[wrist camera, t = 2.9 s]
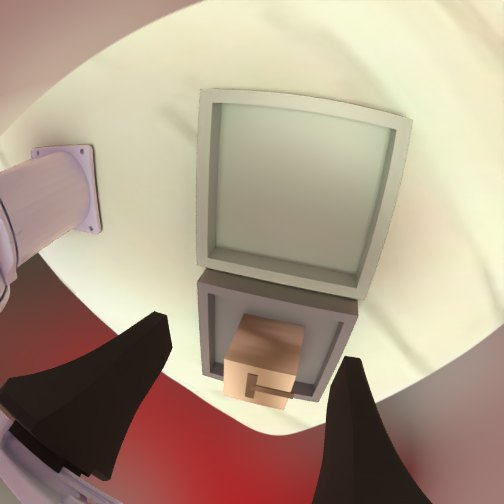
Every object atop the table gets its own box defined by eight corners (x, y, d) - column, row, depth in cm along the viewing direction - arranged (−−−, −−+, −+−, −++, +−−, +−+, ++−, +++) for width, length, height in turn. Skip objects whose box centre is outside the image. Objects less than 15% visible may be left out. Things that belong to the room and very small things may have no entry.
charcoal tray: (208, 361, 28) (202, 374, 26) (206, 268, 22) (197, 281, 20) (320, 387, 26) (318, 402, 24) (357, 300, 20) (358, 315, 18)
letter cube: (240, 352, 25) (223, 396, 21) (244, 313, 23) (223, 359, 18) (297, 365, 24) (287, 411, 20) (308, 327, 22) (300, 378, 18)
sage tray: (206, 252, 21) (196, 265, 20) (212, 90, 15) (199, 89, 14) (362, 284, 19) (364, 300, 18) (404, 118, 13) (412, 119, 12)
